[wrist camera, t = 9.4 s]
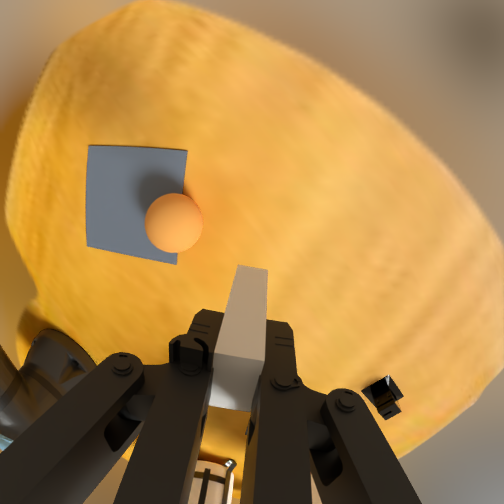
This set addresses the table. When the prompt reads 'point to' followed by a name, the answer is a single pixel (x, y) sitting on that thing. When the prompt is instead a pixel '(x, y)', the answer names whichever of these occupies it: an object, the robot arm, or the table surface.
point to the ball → (173, 223)
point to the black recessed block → (384, 397)
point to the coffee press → (212, 483)
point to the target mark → (129, 196)
